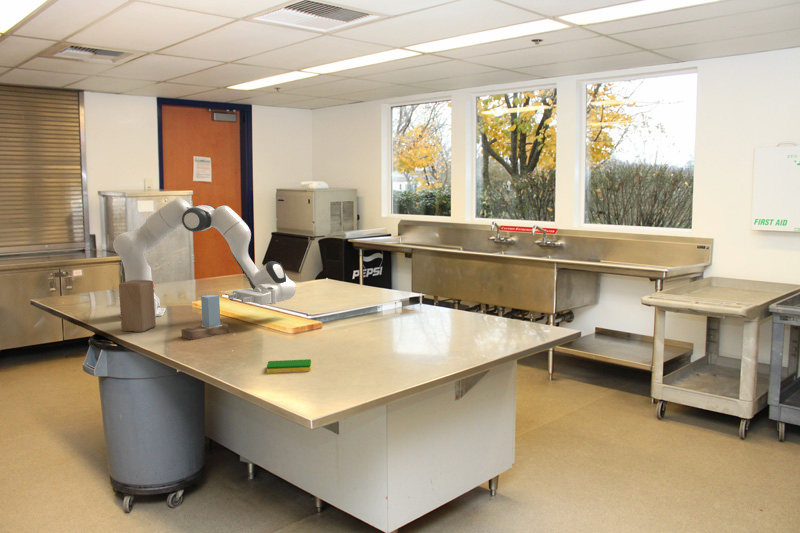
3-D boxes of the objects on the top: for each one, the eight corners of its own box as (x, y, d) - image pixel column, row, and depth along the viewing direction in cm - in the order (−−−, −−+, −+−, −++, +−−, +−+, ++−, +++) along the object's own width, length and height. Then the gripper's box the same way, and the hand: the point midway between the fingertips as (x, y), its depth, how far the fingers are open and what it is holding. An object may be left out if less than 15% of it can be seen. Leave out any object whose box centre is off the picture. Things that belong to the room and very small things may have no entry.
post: (213, 323, 260) (212, 294, 259) (220, 325, 257) (219, 295, 255) (202, 325, 257) (201, 296, 255) (209, 327, 253) (207, 297, 252)
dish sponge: (310, 372, 205) (310, 365, 204) (266, 374, 203) (266, 367, 203) (311, 366, 212) (311, 359, 211) (268, 367, 210) (268, 360, 210)
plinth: (217, 329, 263) (217, 322, 263) (228, 332, 258) (228, 324, 258) (181, 336, 252) (181, 329, 251) (192, 340, 246) (192, 332, 246)
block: (142, 332, 259) (139, 284, 257) (120, 331, 261) (117, 283, 259) (156, 327, 269) (153, 280, 266) (135, 326, 271) (132, 279, 268)
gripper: (248, 284, 281) (221, 288, 271) (277, 289, 267) (249, 294, 257) (249, 298, 282) (221, 302, 272) (278, 304, 268) (250, 309, 258)
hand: (235, 298), depth 264 cm, fingers open, 8 cm apart
